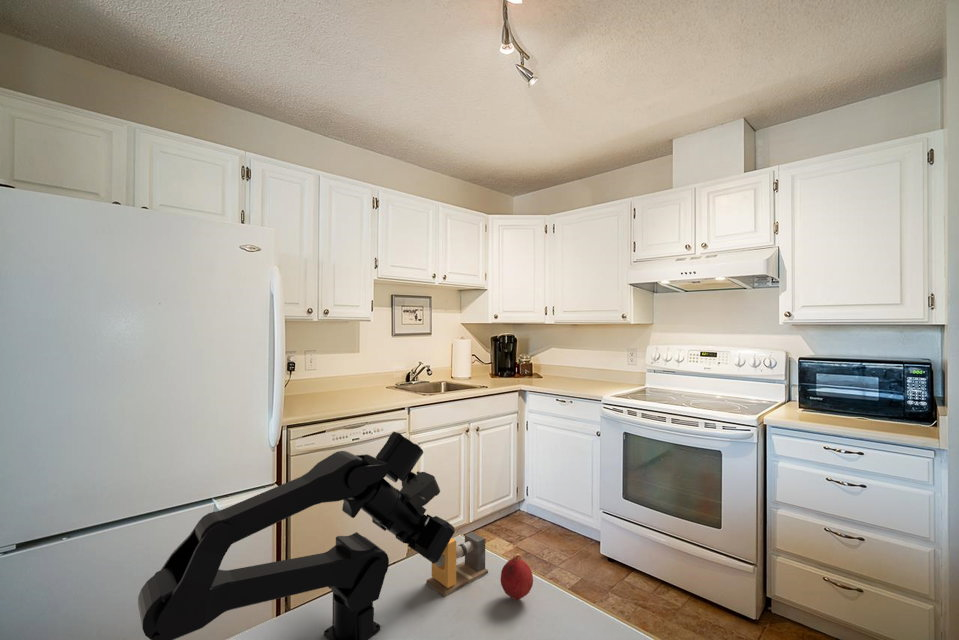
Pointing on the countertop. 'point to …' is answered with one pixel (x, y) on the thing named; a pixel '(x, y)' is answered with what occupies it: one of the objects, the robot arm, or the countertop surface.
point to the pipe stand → (464, 564)
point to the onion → (516, 578)
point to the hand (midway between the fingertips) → (437, 546)
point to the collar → (447, 566)
